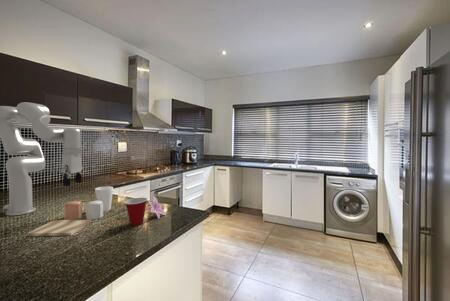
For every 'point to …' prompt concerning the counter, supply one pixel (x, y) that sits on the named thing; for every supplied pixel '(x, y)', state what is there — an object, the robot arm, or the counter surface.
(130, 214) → the plastic cup
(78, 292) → the counter surface
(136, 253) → the counter surface
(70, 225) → the oak board
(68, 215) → the pink acorn nut
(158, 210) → the lily
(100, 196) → the foam cup
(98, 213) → the white domed cap nut
